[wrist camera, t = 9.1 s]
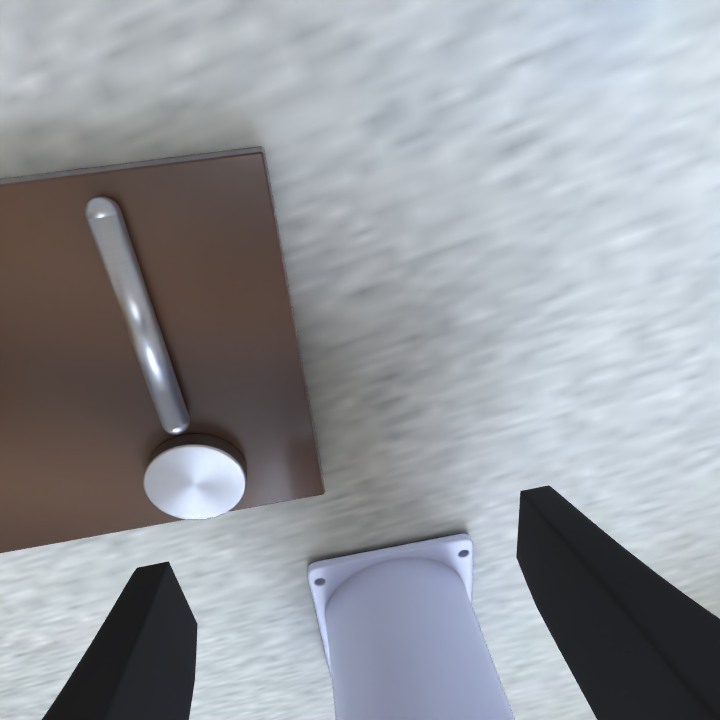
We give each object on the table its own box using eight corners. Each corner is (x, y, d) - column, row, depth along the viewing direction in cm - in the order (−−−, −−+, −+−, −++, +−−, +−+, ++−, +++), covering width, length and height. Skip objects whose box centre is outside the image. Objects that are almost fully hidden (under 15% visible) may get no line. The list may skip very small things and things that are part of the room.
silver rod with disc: (255, 498, 20) (255, 515, 19) (162, 514, 20) (158, 532, 19) (169, 184, 14) (162, 191, 13) (34, 202, 14) (20, 210, 13)
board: (322, 474, 22) (325, 494, 21) (-184, 565, 20) (-208, 592, 19) (263, 146, 15) (263, 151, 14) (-497, 240, 13) (-561, 254, 12)
